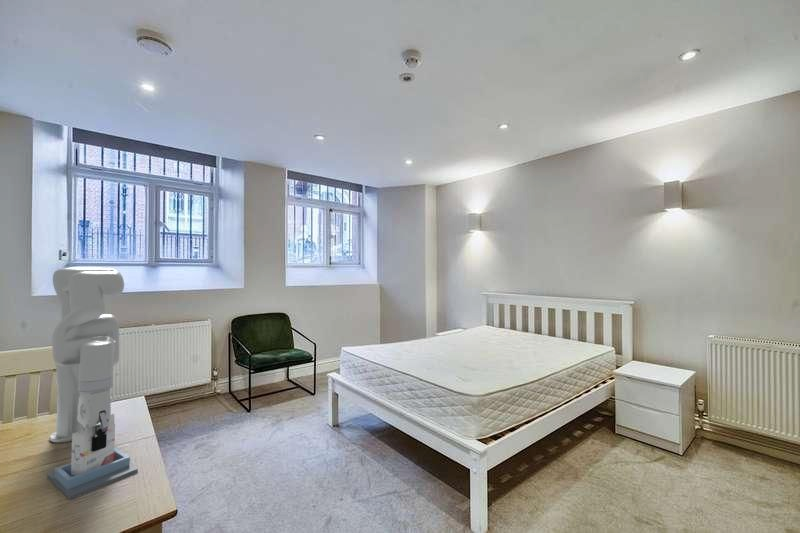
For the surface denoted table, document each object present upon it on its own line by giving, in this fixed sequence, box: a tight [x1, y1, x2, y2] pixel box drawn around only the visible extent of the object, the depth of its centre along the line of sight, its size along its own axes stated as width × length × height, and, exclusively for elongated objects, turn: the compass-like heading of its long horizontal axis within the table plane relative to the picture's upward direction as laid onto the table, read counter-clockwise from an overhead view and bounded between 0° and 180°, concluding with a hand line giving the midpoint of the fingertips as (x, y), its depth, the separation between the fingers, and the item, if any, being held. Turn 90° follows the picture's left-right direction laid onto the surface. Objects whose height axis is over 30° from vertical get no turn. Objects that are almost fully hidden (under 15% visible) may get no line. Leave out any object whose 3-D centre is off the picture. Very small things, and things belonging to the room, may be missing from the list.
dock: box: [46, 447, 139, 501], centre depth 101 cm, size 18×15×4 cm
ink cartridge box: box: [70, 413, 116, 476], centre depth 101 cm, size 9×5×15 cm, turn 167°
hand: (94, 445), depth 101 cm, fingers closed on ink cartridge box, 6 cm apart
